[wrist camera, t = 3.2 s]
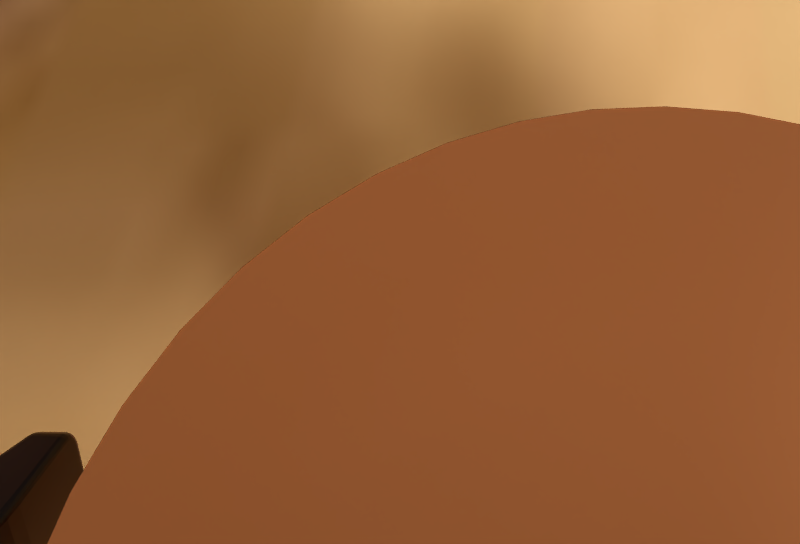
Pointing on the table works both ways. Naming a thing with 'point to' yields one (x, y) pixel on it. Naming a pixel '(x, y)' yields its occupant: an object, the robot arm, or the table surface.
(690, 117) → the wooden peg
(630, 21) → the table surface
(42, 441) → the robot arm
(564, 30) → the table surface
